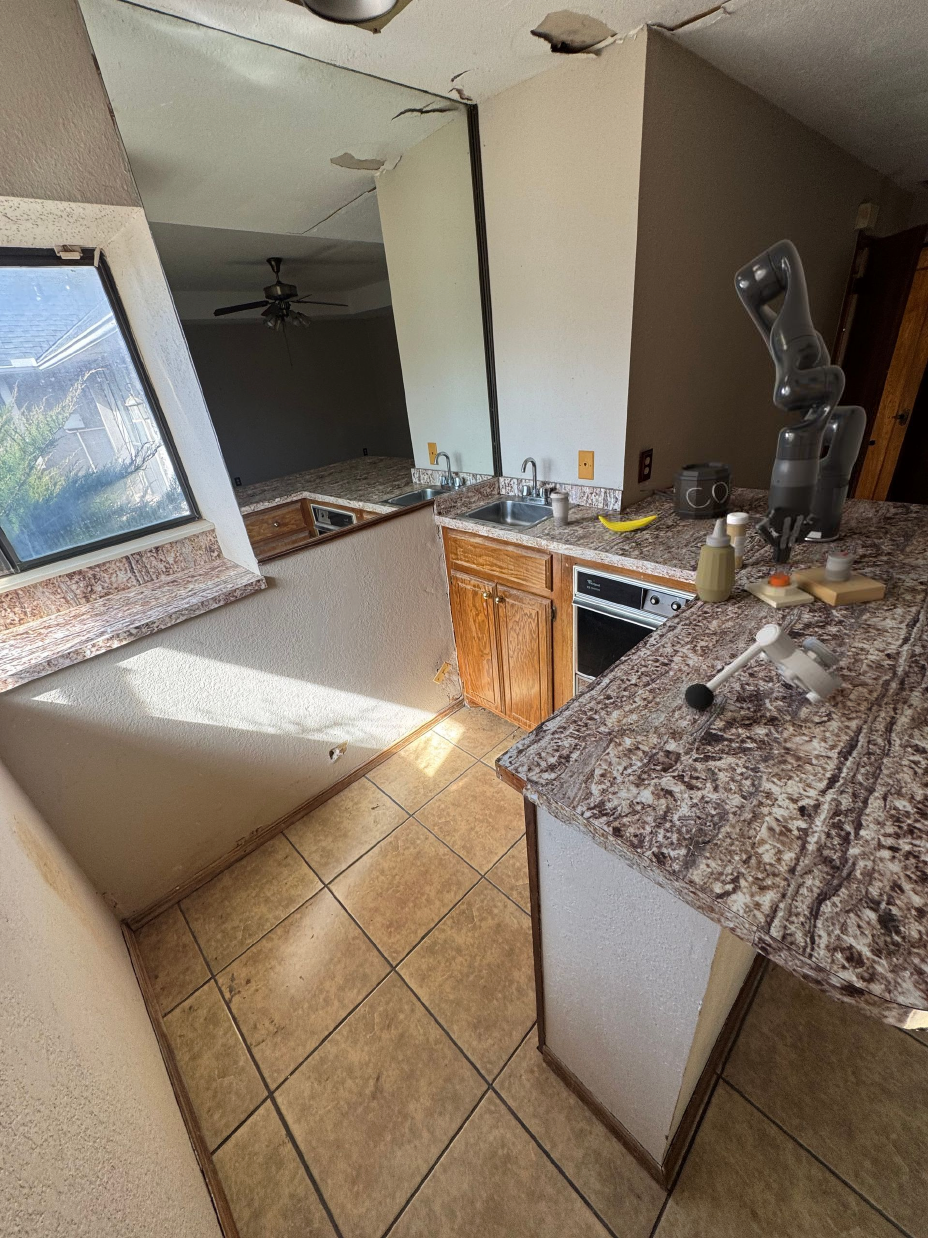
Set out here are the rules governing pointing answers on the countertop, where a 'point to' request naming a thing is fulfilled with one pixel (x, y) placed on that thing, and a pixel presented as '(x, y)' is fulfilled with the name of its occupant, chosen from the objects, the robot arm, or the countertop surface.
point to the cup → (560, 507)
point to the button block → (779, 593)
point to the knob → (839, 566)
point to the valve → (789, 661)
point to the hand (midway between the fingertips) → (780, 563)
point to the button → (779, 580)
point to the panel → (838, 587)
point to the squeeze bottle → (716, 566)
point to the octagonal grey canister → (703, 490)
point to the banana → (626, 524)
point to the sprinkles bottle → (737, 534)
